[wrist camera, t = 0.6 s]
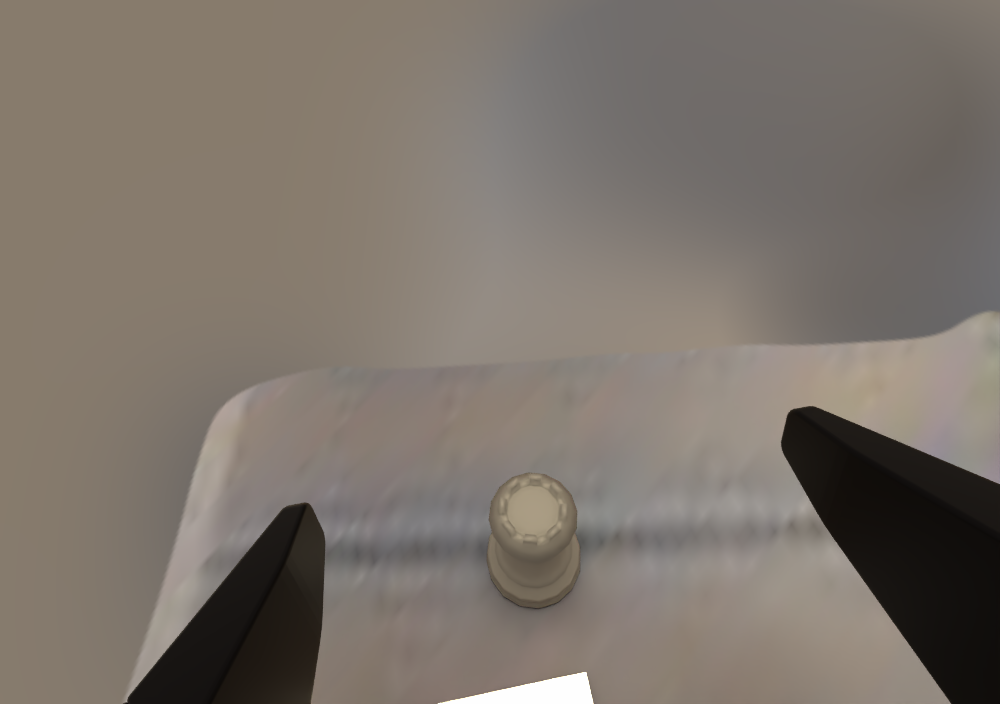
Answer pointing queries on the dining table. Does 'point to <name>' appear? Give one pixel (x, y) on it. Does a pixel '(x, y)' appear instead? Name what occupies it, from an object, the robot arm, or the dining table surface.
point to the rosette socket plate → (538, 693)
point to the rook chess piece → (533, 540)
